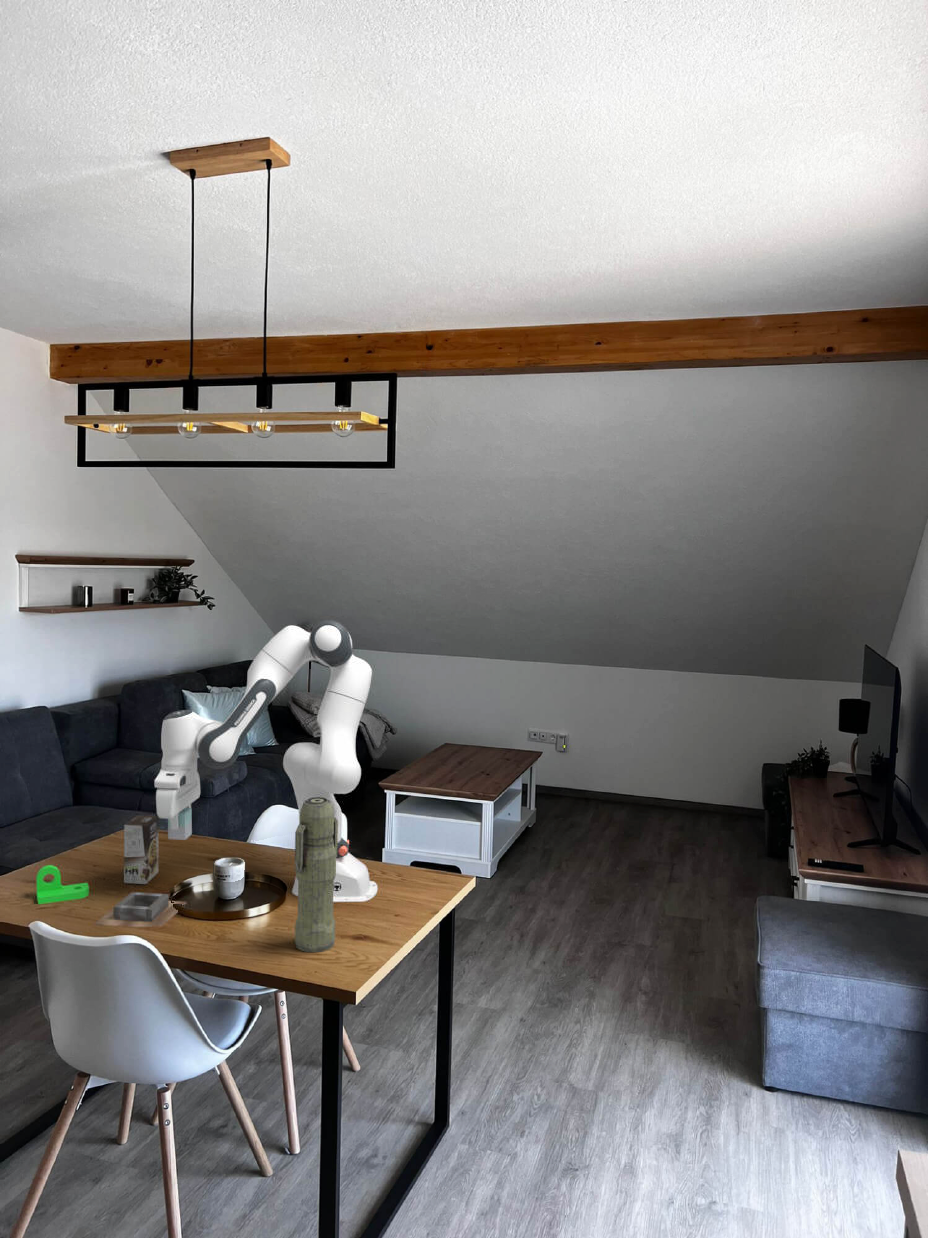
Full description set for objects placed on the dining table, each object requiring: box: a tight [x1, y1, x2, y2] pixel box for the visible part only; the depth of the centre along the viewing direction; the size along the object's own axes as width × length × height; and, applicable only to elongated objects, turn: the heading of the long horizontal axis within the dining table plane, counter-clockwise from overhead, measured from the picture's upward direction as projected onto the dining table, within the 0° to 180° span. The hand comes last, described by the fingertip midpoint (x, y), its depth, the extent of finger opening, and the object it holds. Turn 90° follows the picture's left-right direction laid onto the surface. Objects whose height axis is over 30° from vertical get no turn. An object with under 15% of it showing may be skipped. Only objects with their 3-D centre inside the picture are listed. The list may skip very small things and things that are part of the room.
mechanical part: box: [35, 864, 90, 905], centre depth 231 cm, size 12×6×8 cm, turn 119°
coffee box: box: [123, 814, 159, 885], centre depth 245 cm, size 9×6×16 cm
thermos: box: [294, 797, 338, 953], centre depth 204 cm, size 9×12×35 cm
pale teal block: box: [167, 807, 193, 841], centre depth 237 cm, size 4×4×7 cm
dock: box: [93, 891, 187, 928], centre depth 221 cm, size 16×16×4 cm
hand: (180, 825), depth 237 cm, fingers closed on pale teal block, 4 cm apart
